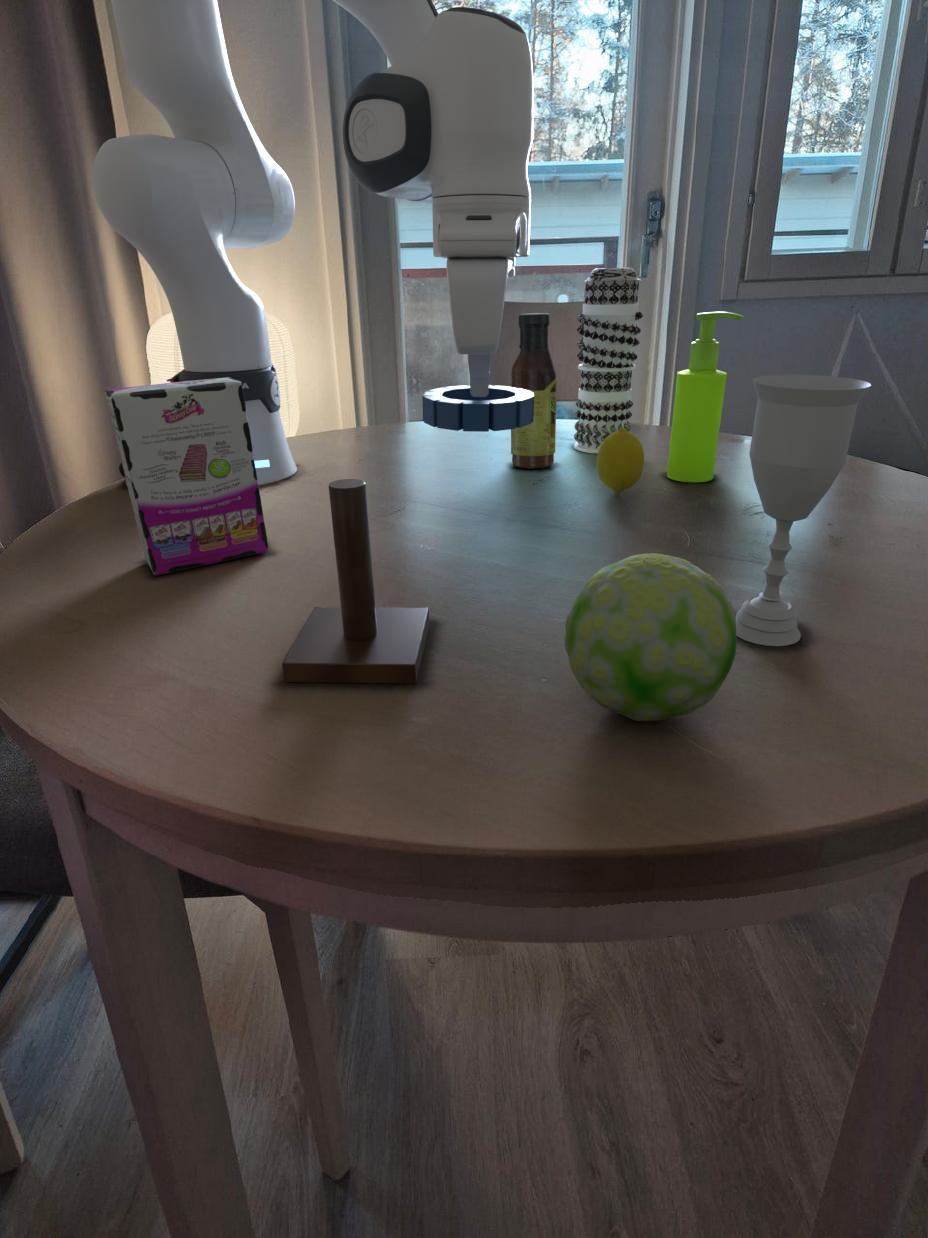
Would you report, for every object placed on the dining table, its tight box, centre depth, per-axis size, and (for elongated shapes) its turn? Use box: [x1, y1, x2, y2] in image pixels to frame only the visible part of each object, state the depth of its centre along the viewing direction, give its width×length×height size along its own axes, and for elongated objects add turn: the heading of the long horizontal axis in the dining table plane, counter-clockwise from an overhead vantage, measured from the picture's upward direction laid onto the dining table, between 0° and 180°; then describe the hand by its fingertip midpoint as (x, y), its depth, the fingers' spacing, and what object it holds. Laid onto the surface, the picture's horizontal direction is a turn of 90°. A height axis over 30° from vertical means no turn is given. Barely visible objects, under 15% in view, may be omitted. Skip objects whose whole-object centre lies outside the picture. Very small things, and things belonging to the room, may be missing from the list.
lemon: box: [596, 428, 645, 495], centre depth 86 cm, size 6×6×8 cm
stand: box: [281, 478, 430, 685], centre depth 50 cm, size 9×9×12 cm
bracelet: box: [421, 384, 534, 433], centre depth 68 cm, size 10×10×2 cm
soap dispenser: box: [666, 311, 745, 483], centre depth 90 cm, size 6×7×20 cm
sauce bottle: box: [510, 312, 558, 470], centre depth 97 cm, size 7×6×20 cm
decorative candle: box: [573, 267, 644, 454], centre depth 105 cm, size 9×9×25 cm
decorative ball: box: [564, 552, 738, 722], centre depth 43 cm, size 10×10×10 cm
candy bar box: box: [104, 377, 270, 576], centre depth 67 cm, size 11×5×16 cm, turn 122°
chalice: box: [735, 374, 872, 647], centre depth 50 cm, size 7×7×18 cm
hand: (480, 393), depth 71 cm, fingers closed on bracelet, 2 cm apart
